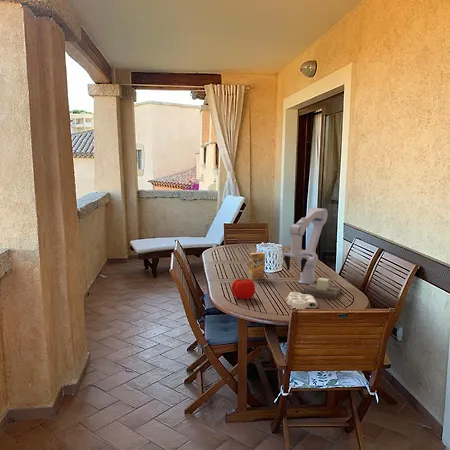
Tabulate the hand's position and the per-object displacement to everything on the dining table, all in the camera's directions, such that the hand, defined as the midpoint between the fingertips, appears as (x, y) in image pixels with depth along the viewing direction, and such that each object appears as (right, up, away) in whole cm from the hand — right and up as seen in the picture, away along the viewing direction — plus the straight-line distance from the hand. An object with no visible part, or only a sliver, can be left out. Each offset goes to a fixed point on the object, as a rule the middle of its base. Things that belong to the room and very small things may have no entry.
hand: (295, 270), depth 223 cm
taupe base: (+13, -11, -8) cm, 19 cm away
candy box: (-20, -7, +18) cm, 27 cm away
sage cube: (+13, -8, -8) cm, 18 cm away
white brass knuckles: (-2, -14, -24) cm, 28 cm away
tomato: (-29, -12, -19) cm, 37 cm away
